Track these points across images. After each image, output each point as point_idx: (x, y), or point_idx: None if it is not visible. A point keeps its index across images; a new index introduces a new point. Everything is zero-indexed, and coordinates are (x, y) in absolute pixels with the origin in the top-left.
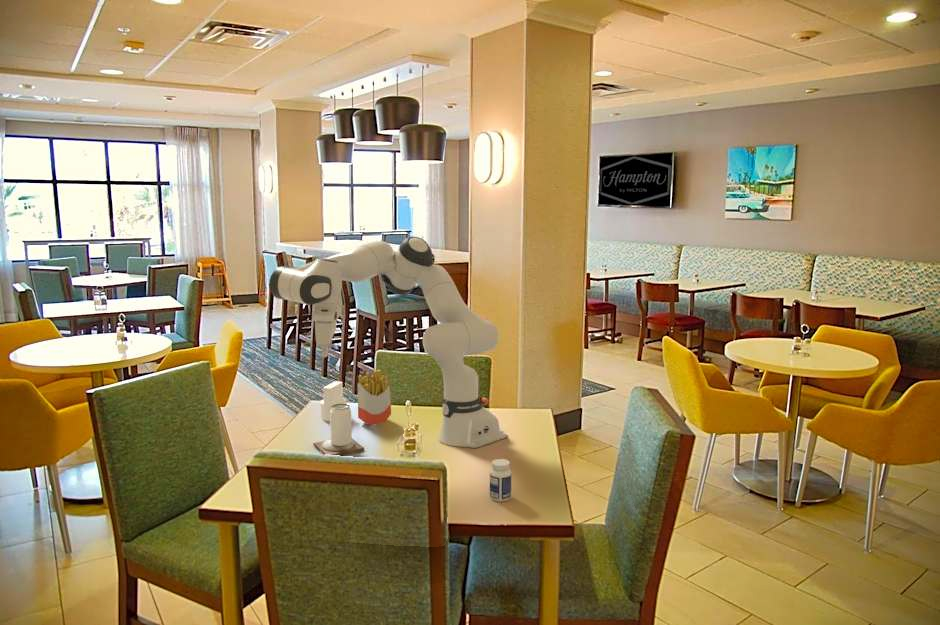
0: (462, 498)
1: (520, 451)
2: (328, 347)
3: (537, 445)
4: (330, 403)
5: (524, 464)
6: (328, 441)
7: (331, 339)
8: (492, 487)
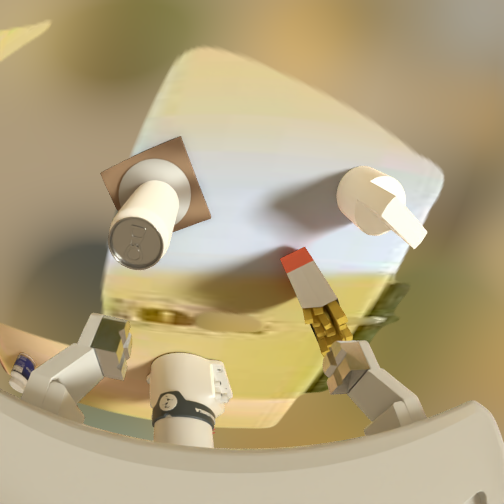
0: (15, 333)
1: (139, 403)
2: (332, 356)
3: None
4: (360, 198)
5: (104, 397)
6: (170, 173)
7: (364, 409)
8: (15, 362)
